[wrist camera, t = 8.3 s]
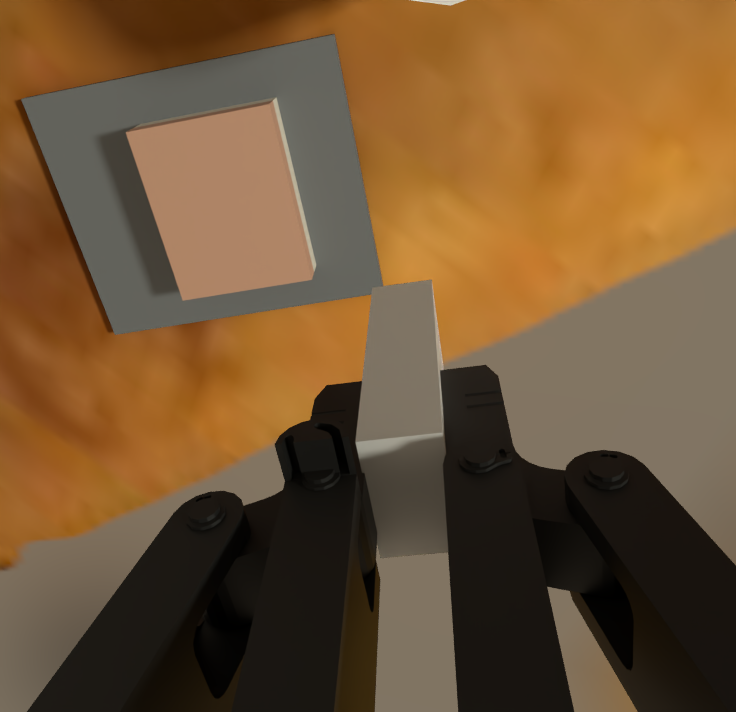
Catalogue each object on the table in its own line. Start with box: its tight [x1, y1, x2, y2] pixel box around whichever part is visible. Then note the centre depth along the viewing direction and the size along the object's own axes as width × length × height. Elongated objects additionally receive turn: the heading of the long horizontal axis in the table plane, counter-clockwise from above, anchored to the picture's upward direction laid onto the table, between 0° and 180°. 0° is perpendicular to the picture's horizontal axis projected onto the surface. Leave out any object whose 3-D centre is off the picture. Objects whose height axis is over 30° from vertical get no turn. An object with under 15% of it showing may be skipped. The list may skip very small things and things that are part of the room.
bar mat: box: [21, 34, 383, 335], centre depth 42 cm, size 15×18×1 cm
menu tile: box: [126, 97, 316, 301], centre depth 41 cm, size 10×2×8 cm
